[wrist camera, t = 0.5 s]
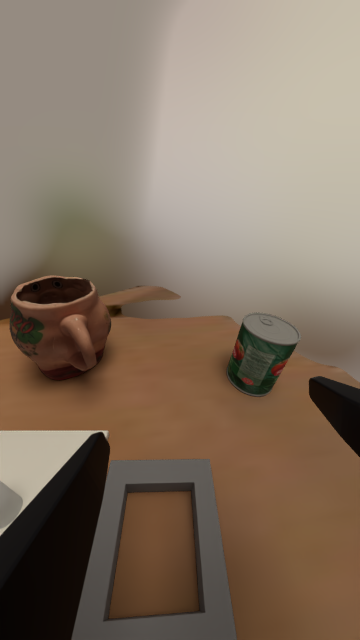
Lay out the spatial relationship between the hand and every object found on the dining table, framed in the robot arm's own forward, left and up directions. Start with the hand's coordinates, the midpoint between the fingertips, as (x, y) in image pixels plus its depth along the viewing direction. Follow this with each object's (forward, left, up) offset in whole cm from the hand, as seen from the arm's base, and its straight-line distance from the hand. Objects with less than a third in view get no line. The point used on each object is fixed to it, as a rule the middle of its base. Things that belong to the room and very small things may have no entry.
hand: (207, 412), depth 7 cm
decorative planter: (+18, +17, -17) cm, 30 cm away
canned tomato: (+16, -13, -17) cm, 27 cm away
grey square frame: (-2, +2, -17) cm, 17 cm away
